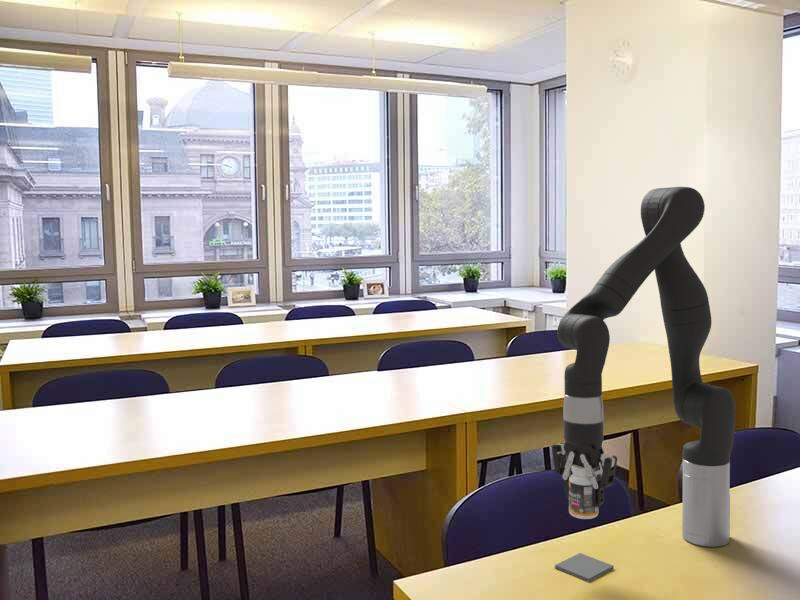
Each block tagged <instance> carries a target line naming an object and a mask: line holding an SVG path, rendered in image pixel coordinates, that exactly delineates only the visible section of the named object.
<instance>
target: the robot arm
mask: <svg viewBox="0 0 800 600" xmlns="http://www.w3.org/2000/svg"><path fill="white" fill-rule="evenodd" d="M641 200H642V201H641V204H640V219H641V220H640V221H641V223H642V227H643V232H644V235H645V237H644V238H642V240H640V241H639V242H638V243H637V244H635V245H634V246H633V247H631V248H630V249H629V250H628V251H626V252H625V253H623V254H622V255H620V257H618V258H617V259H616V260H615V261H614V262H613V263H611V264H610V265H609V267H608V268H607V269H606V270H605V271H604V273H603V274H602V275H601V277H600V278H599V279H598V281H597V282H596V283H595V285H594V286H593V288H592V289H591V291H590V292H588V293H587V294H586V295H585V296H583V297H582V298H581V299H580V300H579V301H578V302H576V303H575V304H573V306H571V307H570V309H569V310H567V312H565V313H564V315H563V316H562V318H561V319H560V320H559V324H558V326H557V329H556V330H557V331H556V334H557V335H556V336H557V339H558V341H559V343H560V344H561V345H562V346H564V347H565V348H567V349H569V350H570V349H571V350H574V351H576V356H575V361H574V362H572V363H569V364H567V366H566V367H565V368H564V395H563V396H564V397H563V410H562V411H563V415H562V417H563V440H564V441H565V442H564V443H563V442H559V443H555V444H553V445H552V446H551V452H552V458H553V465H554V466H553V467H554V472H555V473H554V474H556V475H558V476H561V478H562V479H563V484H564V486H563V487H564V488H563V489H564V490H563V491H564V493H563V494H564V495H565V499H568V500H569V477H570V476H571V475H572V474H573V472H572V470H571V465H573V464H574V465H577V466H581V467H585V470H586V473H587V476H588V477H589V478H590V479H591V482H592V485H593V487H594V488H592V505H593V507H599V508H600V507H601V506H602V505H603V504H604V502H605V489H606V488H608V487H610V486H613V485H614V483H615V478H616V477H615V476H616V472H617V464H618V463H617V462H618V458H617V456H616V455H611V456H610V455H608V454H606V453H605V451H604V449H603V442H604V402H603V379H602V378H603V375H602V373H603V370H604V367H605V364H606V359H607V355H608V352H609V347H610V339H611V338H610V337H611V336H610V330H609V328H608V326H607V323H606V321H605V319H608V318H612V317H616V316H618V315H620V314H621V313H622V311H623V310H624V309H625V307H626V306H627V305H628V304H629V302H630V301H631V300H632V299H633V297H634V295H635V294H637V291H638V290H639V289H640V287H641V286H642V285H643V283H644V282H645V281H646V280H647V278H649V276H650V275H651V274H652V273H653V272H654V274H655V279H656V283H657V288H658V294H659V300H660V301H659V302H660V307H661V314H662V319H663V324H664V329H665V334H666V339H667V346H668V353H669V360H670V369H671V370H670V371H671V384H672V385H671V388H672V400H673V406H674V410H675V413H676V415H677V418H679V420H680V421H681V422H683V423H685V424H687V425H689V426H693V427H697V428H700V437H699V440H698V439H697V440H691V441H689V442H686V443H684V445H683V447H682V520H681V522H682V525H681V526H682V527H681V529H682V538H683V539H684V540H685V541H687V542H689V543H691V544H694V545H696V546H701V547H707V548H709V547H712V548H715V547H716V548H717V547H723V546H725V545H728V544H729V542H730V535H731V534H730V533H731V531H730V530H731V494H730V491H731V489H730V484H731V483H730V479H731V477H730V476H731V475H730V470H731V468H730V467H731V459H730V458H731V453H732V451H733V447H734V442H735V441H734V439H735V427H736V424H735V423H736V410H737V409H736V400H735V397H734V395H733V394H732V392H731V391H730V390H729V389H727V388H725V387H723V386H717V385H713V384H708V383H707V384H706V383H705V382H703V378H702V373H701V367H700V357H701V354H702V350H703V348H704V346H705V343H706V341H707V340H708V337H709V335H710V331H711V328H712V313H711V306H710V302H709V296H708V293H707V290H706V288H705V286H704V284H703V281H701V279H700V277H699V275H698V274H697V273H696V271H695V269H693V267H692V266H691V264H690V262H689V261H688V260H687V257H686V255H685V253H684V250H683V247H682V244H681V243H682V242H683V241H685V240H686V239H687V238H688V236H690V234H692V233H693V231H694V230H695V229H696V228H697V227H698V226H699V224H700V223H701V222H702V220H703V217H704V215H705V210H706V209H705V206H706V205H705V200H704V198H703V195H701V193H700V192H699V191H698V190H697V189H695V188H693V187H691V186H673V187H671V186H670V187H659V188H653V189H651V190H649V191H648V192H647V193H645V194H644V196H643V198H642V199H641ZM566 457H567V458H566ZM593 468H596V471H593V470H592V469H593ZM597 479H598V480H597Z"/></svg>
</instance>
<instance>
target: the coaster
mask: <svg viewBox="0 0 800 600" xmlns="http://www.w3.org/2000/svg"><path fill="white" fill-rule="evenodd" d="M614 567H615V566H614V565H613V564H610V563H607V562H605V561H603V560H599V559H597V558H594V557H591V556H589V555H587V554H584V553H581V552H579V553H577V554H575V555H573V556H571V557H569V558H566V559H565V560H563V561H560V562H559V563H556V564H554V568H555V569H557V570H559V571H561V572H563V573H566V574H569V575H572V576H574V577H576V578H579V579H582V580H584V581H586V582H591V581H593V580H595V579H596V578H598V577H600V576H602V575H604V574H606V573H609V572H610V571H612V570H614V569H615V568H614Z"/></svg>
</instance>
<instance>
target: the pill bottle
mask: <svg viewBox="0 0 800 600" xmlns="http://www.w3.org/2000/svg"><path fill="white" fill-rule="evenodd" d="M571 470H572V472H573V474H572V475H571V476H570V477H569V499H568V513H569V514H570V516H572V517H574V518H577V519H579V520H580V519H581V520H591V519H595V518H596V517H598V515H599V508H600V506H599V507H593V505H592V488H594V487H593V485H592V482H591V479H590V478H589V477H588V476H587V473H586V470H585V467H581V466H577V465H574V464H573V465H571ZM592 470H593V471H596V468H593V469H592ZM597 480H598V479H597Z"/></svg>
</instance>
